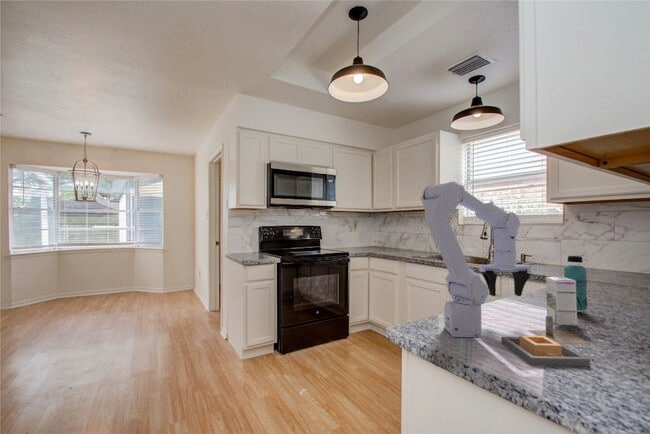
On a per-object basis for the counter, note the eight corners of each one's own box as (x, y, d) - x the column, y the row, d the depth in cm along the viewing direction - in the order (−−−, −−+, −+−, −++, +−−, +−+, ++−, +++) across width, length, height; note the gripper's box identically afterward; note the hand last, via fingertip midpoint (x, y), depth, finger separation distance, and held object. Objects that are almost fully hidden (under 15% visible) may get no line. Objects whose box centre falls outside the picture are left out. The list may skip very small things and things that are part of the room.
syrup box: (578, 329, 89) (577, 280, 89) (555, 327, 90) (555, 279, 90) (566, 322, 94) (566, 276, 95) (545, 321, 95) (545, 276, 96)
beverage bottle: (559, 310, 107) (558, 255, 108) (572, 309, 109) (571, 254, 110) (579, 315, 101) (578, 257, 102) (592, 314, 103) (591, 256, 104)
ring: (519, 347, 73) (519, 335, 73) (544, 348, 73) (543, 335, 73) (539, 361, 66) (539, 347, 66) (566, 362, 66) (566, 348, 66)
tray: (532, 369, 64) (531, 357, 64) (501, 346, 76) (501, 336, 76) (590, 370, 63) (589, 359, 63) (550, 347, 75) (549, 337, 75)
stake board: (550, 346, 76) (550, 321, 76) (528, 333, 85) (527, 311, 85) (591, 347, 75) (590, 322, 75) (564, 334, 84) (564, 312, 84)
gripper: (487, 252, 88) (487, 298, 87) (537, 252, 87) (538, 299, 87) (475, 250, 95) (476, 292, 95) (522, 250, 94) (523, 293, 94)
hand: (505, 295), depth 91 cm, fingers open, 7 cm apart
